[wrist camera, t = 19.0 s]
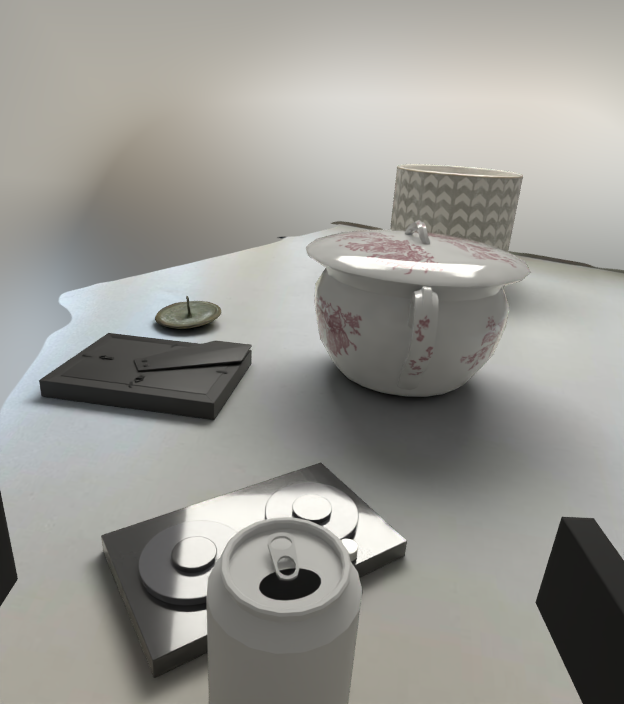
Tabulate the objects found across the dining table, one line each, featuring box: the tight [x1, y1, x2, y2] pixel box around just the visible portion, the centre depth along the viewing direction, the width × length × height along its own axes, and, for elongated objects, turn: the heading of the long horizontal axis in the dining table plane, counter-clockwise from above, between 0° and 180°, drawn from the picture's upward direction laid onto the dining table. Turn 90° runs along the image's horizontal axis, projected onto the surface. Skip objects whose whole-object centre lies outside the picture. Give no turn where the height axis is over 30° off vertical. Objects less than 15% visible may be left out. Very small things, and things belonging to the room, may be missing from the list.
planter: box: [390, 164, 523, 252], centre depth 115 cm, size 25×25×24 cm
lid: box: [155, 296, 221, 329], centre depth 87 cm, size 11×10×5 cm
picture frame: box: [39, 333, 252, 420], centre depth 68 cm, size 16×3×21 cm
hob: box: [101, 463, 407, 678], centre depth 41 cm, size 12×20×2 cm, turn 123°
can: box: [206, 517, 362, 704], centre depth 28 cm, size 8×8×12 cm
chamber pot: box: [306, 220, 531, 397], centre depth 70 cm, size 28×28×21 cm
